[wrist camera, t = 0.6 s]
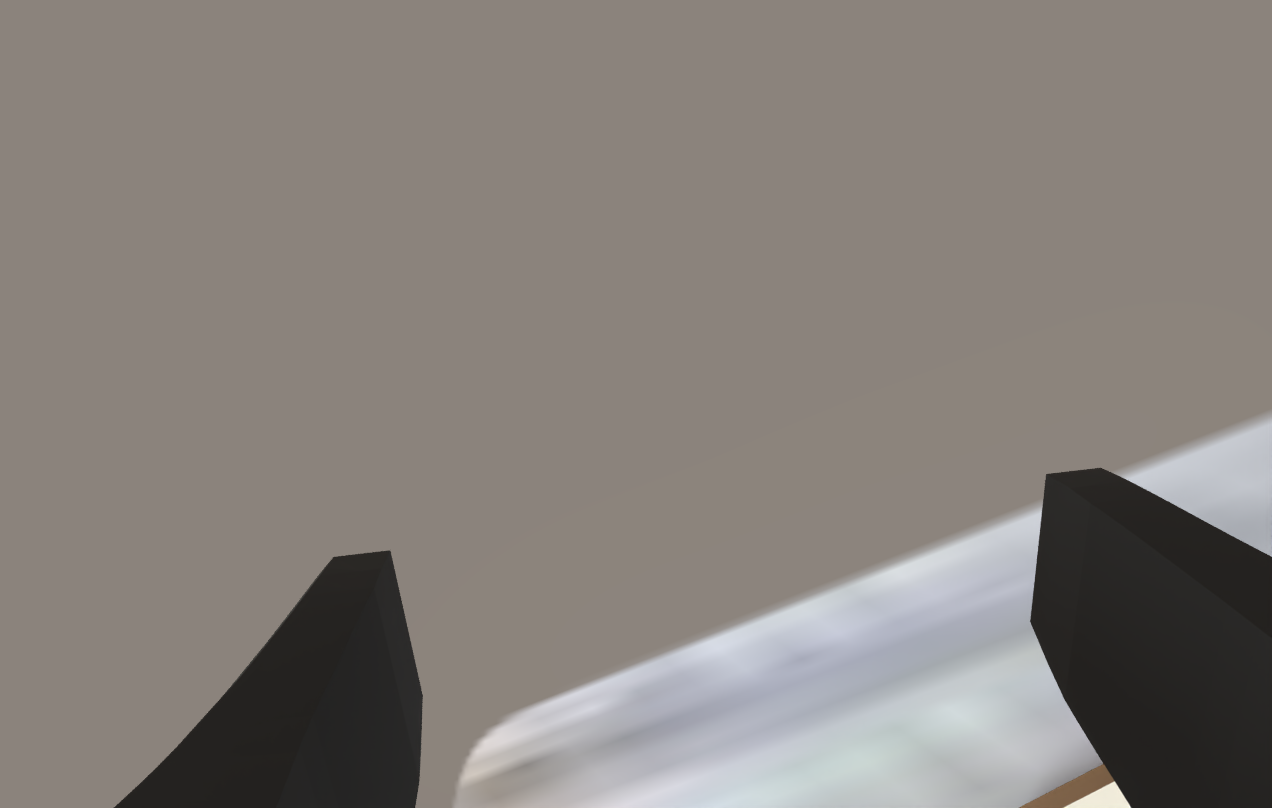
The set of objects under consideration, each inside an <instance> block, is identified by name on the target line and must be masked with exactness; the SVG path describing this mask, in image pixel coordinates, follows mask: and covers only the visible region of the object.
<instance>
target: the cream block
mask: <svg viewBox="0 0 1272 808" xmlns="http://www.w3.org/2000/svg"><path fill="white" fill-rule="evenodd" d="M1064 808H1131V807H1130V805H1129V803H1128V802H1127V800H1126V799H1125V797H1124V796H1123V794H1122V792H1121V791H1120V789H1119V788H1118V786H1117V784H1116V783H1115V781H1114V782H1112V783H1110V784H1109V785H1107V786H1105V787H1103V788H1101V789H1099V790H1097V791H1095V792H1093V793H1091V794H1089V795H1087V796H1085V797H1083V798H1081V799H1079V800H1077V801H1075V802H1074V803H1072V804H1070V805H1068V806H1066V807H1064Z"/></svg>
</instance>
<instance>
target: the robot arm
mask: <svg viewBox="0 0 1272 808" xmlns="http://www.w3.org/2000/svg"><path fill="white" fill-rule="evenodd" d="M1030 622H1031V625H1032V627H1033V629H1034V632H1035V634H1036V636H1037V639H1038V641H1039V643H1040V646H1041V648H1042V650H1043V653H1044V655H1045V658H1046V660H1047V662H1048V665H1049V667H1050V669H1051V671H1052V673H1053V675H1054V678H1055V680H1056V682H1057V684H1058V686H1059V688H1060V691H1061V693H1062V695H1063V697H1064V699H1065V701H1066V703H1067V704H1068V706H1069V708H1070V709H1071V711H1072V713H1073V715H1074V716H1075V718H1076V720H1077V721H1078V723H1079V724H1080V726H1081V728H1082V729H1083V731H1084V733H1085V734H1086V736H1087V738H1088V739H1089V741H1090V742H1091V744H1092V746H1093V747H1094V749H1095V751H1096V752H1097V754H1098V755H1099V757H1100V759H1101V760H1102V762H1103V764H1104V765H1105V767H1106V768H1107V770H1108V772H1109V773H1110V775H1111V776H1112V778H1113V780H1114V781H1115V783H1116V784H1117V786H1118V788H1119V789H1120V791H1121V792H1122V794H1123V796H1124V797H1125V799H1126V800H1127V802H1128V803H1129V805H1130V807H1131V808H1272V557H1271V556H1269V555H1267V554H1265V553H1263V552H1261V551H1259V550H1258V549H1256V548H1254V547H1252V546H1250V545H1248V544H1246V543H1244V542H1242V541H1240V540H1238V539H1237V538H1235V537H1233V536H1231V535H1229V534H1227V533H1225V532H1223V531H1222V530H1220V529H1218V528H1216V527H1214V526H1212V525H1210V524H1209V523H1207V522H1205V521H1203V520H1201V519H1199V518H1197V517H1196V516H1194V515H1192V514H1190V513H1188V512H1186V511H1185V510H1183V509H1181V508H1179V507H1177V506H1175V505H1173V504H1172V503H1170V502H1168V501H1166V500H1164V499H1162V498H1160V497H1159V496H1157V495H1155V494H1153V493H1151V492H1149V491H1147V490H1145V489H1143V488H1142V487H1140V486H1138V485H1136V484H1134V483H1132V482H1130V481H1128V480H1126V479H1124V478H1122V477H1120V476H1118V475H1115V474H1113V473H1111V472H1109V471H1107V470H1104V469H1102V468H1095V469H1087V470H1078V471H1069V472H1061V473H1052V474H1046V480H1045V490H1044V499H1043V508H1042V518H1041V527H1040V536H1039V546H1038V555H1037V564H1036V574H1035V583H1034V592H1033V602H1032V611H1031V620H1030ZM422 697H423V695H422V691H421V686H420V682H419V678H418V673H417V668H416V664H415V659H414V655H413V650H412V646H411V641H410V637H409V632H408V628H407V623H406V619H405V614H404V610H403V605H402V601H401V596H400V592H399V587H398V583H397V579H396V574H395V569H394V565H393V561H392V556H391V552H390V551H381V552H373V553H364V554H355V555H347V556H338V557H333V559H332V560H331V561H330V562H329V563H328V564H327V566H326V567H325V568H324V569H323V570H322V572H321V573H320V574H319V576H318V577H317V578H316V579H315V581H314V582H313V583H312V584H311V586H310V587H309V589H308V590H307V591H306V592H305V594H304V595H303V596H302V598H301V599H300V600H299V602H298V603H297V604H296V605H295V607H294V608H293V609H292V611H291V612H290V613H289V615H288V616H287V617H286V619H285V620H284V621H283V622H282V624H281V625H280V626H279V628H278V629H277V630H276V631H275V633H274V634H273V635H272V637H271V638H270V639H269V640H268V642H267V643H266V644H265V646H264V647H263V648H262V649H261V650H260V651H259V653H258V654H257V655H256V656H255V658H254V659H253V660H252V661H251V662H250V664H249V665H248V666H247V667H246V669H245V670H244V671H243V672H242V674H241V675H240V676H239V677H238V679H237V680H236V681H235V682H234V683H233V685H232V686H231V687H230V688H229V689H228V690H227V692H226V693H225V694H224V695H223V696H222V697H221V699H220V700H219V701H218V702H217V703H216V704H215V705H214V706H213V708H212V709H211V710H210V711H209V712H208V713H207V714H206V715H205V716H204V718H203V719H202V720H201V721H200V722H199V723H198V724H197V725H196V727H194V729H193V730H192V731H191V732H190V733H189V734H188V735H187V736H186V738H184V740H183V741H182V742H181V743H180V744H179V745H178V746H177V748H175V749H174V751H172V752H171V753H170V755H169V756H168V757H167V758H166V759H165V760H164V761H163V762H162V763H161V764H160V765H159V766H158V767H157V768H156V769H155V770H154V771H153V772H152V773H151V774H149V775H148V777H146V778H145V779H144V780H143V781H142V782H141V783H140V784H139V785H138V786H137V787H136V788H135V789H134V790H133V791H132V792H130V793H129V794H128V795H127V796H126V797H125V798H124V799H123V800H122V801H121V802H120V803H119V804H117V805H116V806H115V807H114V808H415V805H416V799H417V792H418V786H419V776H420V756H421V730H422V699H423V698H422Z"/></svg>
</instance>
